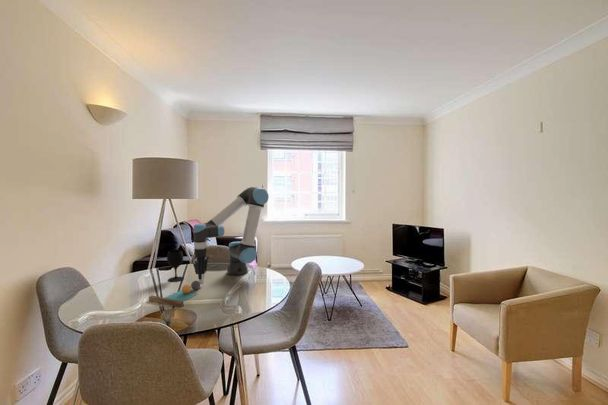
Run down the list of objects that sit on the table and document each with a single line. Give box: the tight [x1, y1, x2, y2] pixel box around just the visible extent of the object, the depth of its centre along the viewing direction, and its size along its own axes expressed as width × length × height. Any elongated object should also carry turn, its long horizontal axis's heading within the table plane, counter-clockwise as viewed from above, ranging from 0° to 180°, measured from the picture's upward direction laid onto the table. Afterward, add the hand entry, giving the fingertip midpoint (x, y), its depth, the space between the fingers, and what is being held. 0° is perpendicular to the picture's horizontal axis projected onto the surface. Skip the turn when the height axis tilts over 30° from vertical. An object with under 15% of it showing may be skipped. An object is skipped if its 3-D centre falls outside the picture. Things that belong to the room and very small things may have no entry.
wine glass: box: [166, 249, 185, 283], centre depth 216 cm, size 10×10×20 cm
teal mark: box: [164, 289, 198, 303], centre depth 186 cm, size 14×14×1 cm
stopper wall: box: [148, 294, 185, 308], centre depth 176 cm, size 2×24×2 cm, turn 67°
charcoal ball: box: [190, 280, 201, 291], centre depth 197 cm, size 6×6×6 cm
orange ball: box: [181, 284, 192, 294], centre depth 190 cm, size 6×6×6 cm
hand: (201, 283), depth 203 cm, fingers closed
